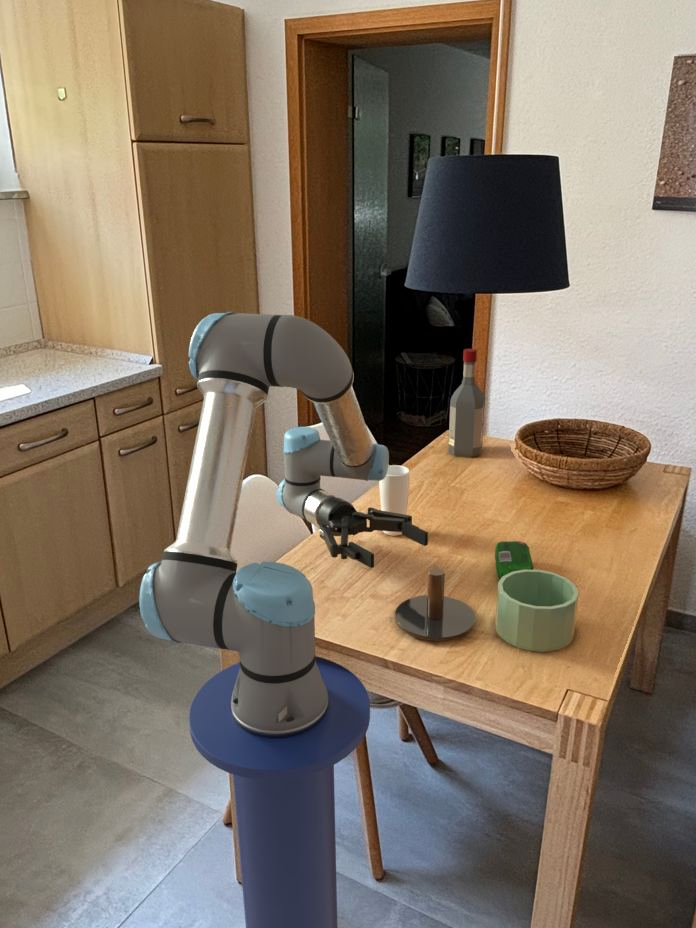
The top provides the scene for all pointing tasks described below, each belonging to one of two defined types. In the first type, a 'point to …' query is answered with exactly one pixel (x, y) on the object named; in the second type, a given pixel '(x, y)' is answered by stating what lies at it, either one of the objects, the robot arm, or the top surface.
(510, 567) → the snack package
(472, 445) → the liquor
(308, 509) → the robot arm
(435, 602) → the lid
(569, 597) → the pot
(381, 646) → the top surface
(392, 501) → the drinking glass
